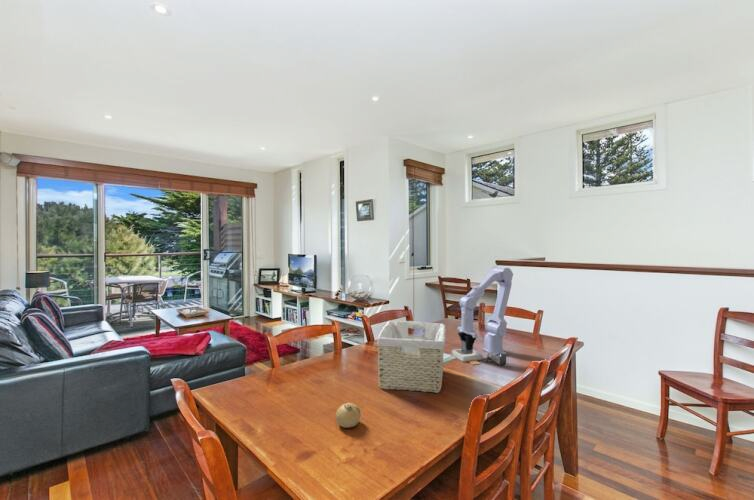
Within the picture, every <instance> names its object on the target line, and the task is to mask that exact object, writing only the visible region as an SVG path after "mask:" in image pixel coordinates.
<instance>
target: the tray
mask: <svg viewBox="0 0 754 500" xmlns="http://www.w3.org/2000/svg"><path fill="white" fill-rule="evenodd" d="M451 355H452V356H454V358H456V359H458V360H459V361H461V362H463V363H465V362H466V363H467V362H468V361H475V360H476V361H481V360H483V357H484V355H483V354H482V353H481V352H479V351H477V350H475V349H473V354H464V353H462V352H461V348H460V349H459V348H458V349H457V348H455V349H452V350H451Z"/></svg>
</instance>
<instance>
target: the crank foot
mask: <svg viewBox="0 0 754 500" xmlns="http://www.w3.org/2000/svg"><path fill="white" fill-rule="evenodd" d="M484 361H485V362H487V363H491V364H493V363H496V362H495V361H493V360H491V359H488V358H487V356H486V357H485V359H484Z"/></svg>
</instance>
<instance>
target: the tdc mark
mask: <svg viewBox="0 0 754 500" xmlns="http://www.w3.org/2000/svg"><path fill="white" fill-rule="evenodd" d="M467 362H468V363H469V364H471V365H473V366H476V365H480V364H481V362H479V360H475V361H467Z"/></svg>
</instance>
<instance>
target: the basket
mask: <svg viewBox="0 0 754 500" xmlns="http://www.w3.org/2000/svg"><path fill="white" fill-rule="evenodd" d="M409 329H411V330H414V329H415V330H416V329H417V330H418V329H419V330H422V332H423V334H409ZM446 335H447V332H446V324H445V323H436V322H424V321H423V322H422V321H415V320H402V321H401V320H388V321H387V322H386V324H384V326H383V328H382V329H381V330H380V332H379V334H378V336H377V338H376V346H377V355H378V356H377V365H378V367H377V368H378V371H377V372H378V373H377V374H378V375H377V377H378V387H379V388H380V389H382V390H383V389H384V390H398V391H400V390H403V391H404V390H405V391H407V390H409V391H410V392H411V391H417V392H418V391H419V392H420V391H421V392H423V393H427V392H428V393H435V394H439V393H440V392H441V389H442V385H443V383H442V382H443V375H444V372H443V371H444V351H445V350H444V349H445V347H446Z"/></svg>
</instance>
